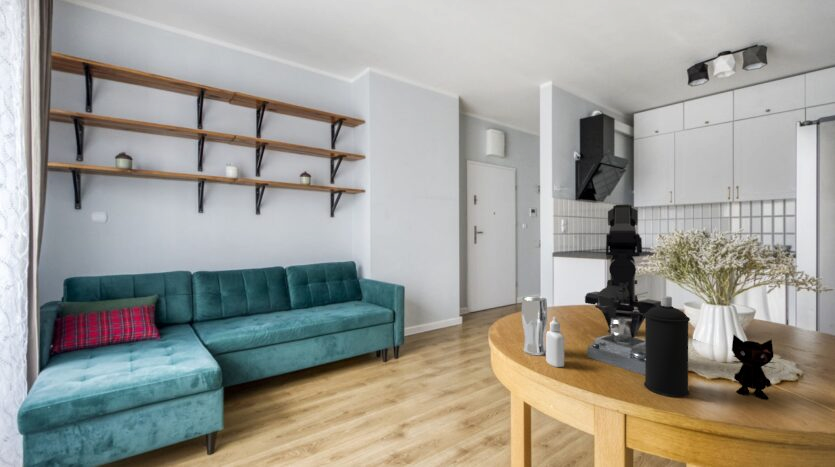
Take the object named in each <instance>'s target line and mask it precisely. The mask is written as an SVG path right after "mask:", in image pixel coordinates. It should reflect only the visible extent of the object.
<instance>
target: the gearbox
mask: <svg viewBox="0 0 835 467" xmlns="http://www.w3.org/2000/svg"><path fill="white" fill-rule="evenodd" d="M587 358H589V359H592V360H595V361H598V362H601V363H605V364H607V365H611V366H614V367H618V368H620V369H624V370H627V371H631V372H634V373H637V374H641V375H643V376H645V339H643V338H639V337H636V336H635V337H634V342H630V343H625V342H618V341H614V340H612V339H611V333H609V334H606V335H603V336H598V337H595V338H594V339H593V343H592V344H591V345H587Z"/></svg>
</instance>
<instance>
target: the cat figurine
mask: <svg viewBox="0 0 835 467" xmlns="http://www.w3.org/2000/svg"><path fill="white" fill-rule="evenodd" d="M732 335H733V336H732V337H733V338H732V345H731V352H732V354H733V357H734V358H736V359H737V361H736V360H732V362H734V363H742V365H741V367H740V369H739V370H738V372H736V373H734V376H733V378H734V380H735V381H736V382H738V383H739V385H740V387H739V388H738V389H737V390H736V391H735V393H736V394H738V395H740V396H750V394H751V392H750V389H751V390H754V391H753V393H752V394H753V396H755V398H758V399H760V400H764V401H765V400H766V401H767V400H769V399H770V398H769V397H768V396H767V394H766V392H764V390H765V389H766V388H769V387H771V386H772V384H771V380H770V379H769V378H768V377H766V376H767V375H766V374H765V372H764V370H763V367H766V368H769V369H773V367H771V366H767V364H772V363H775V361H772V362H771V360H773V358H774V357H775V356H774V348H773V347H774V346H773V340H772V338H771V339H770V340H767V341H765V342H763V343H759V342H758V341H753V340H744V341H743V340H742V339H741V338H740V337H738V336H737V335H735V334H732ZM774 369H775V370H776V368H774Z"/></svg>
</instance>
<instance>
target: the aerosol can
mask: <svg viewBox="0 0 835 467" xmlns="http://www.w3.org/2000/svg"><path fill="white" fill-rule="evenodd" d="M672 300H673V298H672V296H669V295H661V296H660V301H661V305H660V306H658V307H654V308H651V309H650V310H648V312H646V313H645V314H644V316H645V319H644V321H645V322H644V323H645V324H644V325H645V328H644V329H645V330H644V331H645V336H644V337H645V339H644V340H645V375H644V376H645V378H644V379H645V381H644V383H643V385H644V388H646V389H647V390H648V391H651V392H653V393H655V394H657V395H661V396H665V397H669V398H670V397H671V398H685V397H688V396H690V393H691V392H690V390H689V321H690V320H691V318H690V317H689V316H687V315H686V313H684V311H682V310H680V309H678V308H676V307H674V306H673V303H672V302H673V301H672Z"/></svg>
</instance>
